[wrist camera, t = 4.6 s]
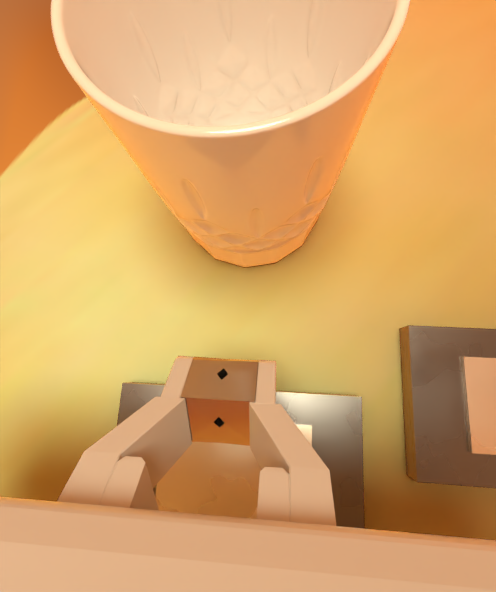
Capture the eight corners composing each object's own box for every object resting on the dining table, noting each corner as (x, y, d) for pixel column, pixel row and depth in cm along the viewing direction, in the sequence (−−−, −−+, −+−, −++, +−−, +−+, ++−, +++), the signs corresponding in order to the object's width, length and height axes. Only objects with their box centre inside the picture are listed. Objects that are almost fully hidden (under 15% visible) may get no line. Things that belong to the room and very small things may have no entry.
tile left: (355, 395, 15) (362, 397, 13) (358, 553, 13) (366, 571, 12) (131, 382, 15) (120, 382, 14) (113, 530, 14) (98, 544, 13)
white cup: (226, 115, 18) (176, -179, 9) (358, 176, 17) (475, -89, 7) (145, 232, 17) (-23, 43, 7) (280, 309, 16) (295, 203, 6)
